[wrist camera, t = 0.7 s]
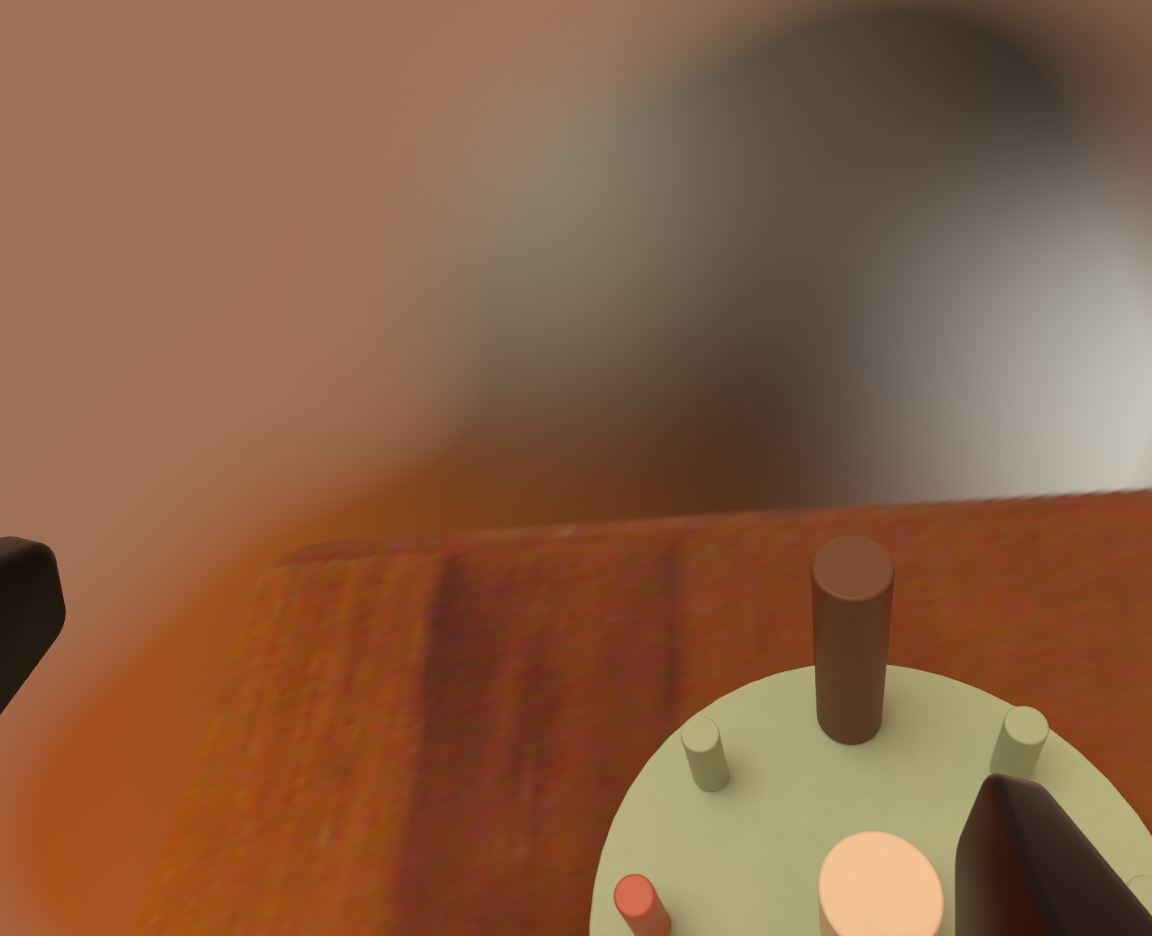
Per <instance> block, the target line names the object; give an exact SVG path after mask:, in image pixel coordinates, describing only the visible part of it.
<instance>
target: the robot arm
mask: <svg viewBox="0 0 1152 936" xmlns="http://www.w3.org/2000/svg"><path fill="white" fill-rule="evenodd" d="M65 614H66V610H65V604H64V598H63V593H62V588H61V583H60V577H59V573H58V567H57V562H56V558H55V555H54V553H53V551H52V550H51V549H50V548H49V547H48V546H46V545H45V544H43V543H39V542H35V541H31V540H27V539H23V538H19V537H2V538H0V714H1V713H2V712H3V710H4V709H5V708H6V706H7V705H8V703H9V702H10V701H11V699H12V698H13V697H14V695H15V694H16V693H17V691H18V690H19V688H20V687H21V686H22V685H23V683H24V682H25V680H26V679H27V678H28V676H29V675H30V674H31V672H32V671H33V670H34V668H35V667H36V665H37V664H38V663H39V661H40V660H41V659H42V657H43V656H44V654H45V653H46V652H47V651H48V649H49V648H50V646H51V645H52V644H53V642H54V641H55V640H56V638H57V637H58V635H59V634H60V631H61V629H62V627H63V624H64V621H65ZM955 936H1152V915H1151V914H1150V913H1149V912H1148V911H1147V909H1146V908H1145V907H1144V906H1143V905H1142V903H1141V902H1140V901H1139V900H1138V899H1137V897H1136V896H1135V895H1134V894H1133V893H1132V891H1131V890H1130V889H1129V888H1128V887H1127V885H1126V884H1125V883H1124V882H1123V880H1122V879H1121V878H1120V877H1119V876H1118V874H1117V873H1116V872H1115V871H1114V870H1113V868H1112V867H1111V866H1110V865H1109V864H1108V862H1107V861H1106V860H1105V859H1104V858H1103V856H1102V855H1101V854H1100V853H1099V852H1098V850H1097V849H1096V848H1095V847H1094V846H1093V844H1092V843H1091V842H1090V841H1089V840H1088V838H1087V837H1086V836H1085V835H1084V834H1083V832H1082V831H1081V830H1080V829H1079V828H1078V826H1077V825H1076V824H1075V823H1074V822H1073V820H1072V819H1071V818H1070V817H1069V816H1068V814H1067V813H1066V812H1065V811H1064V810H1063V808H1062V807H1061V806H1060V805H1059V804H1058V802H1057V801H1056V800H1055V799H1054V798H1053V796H1052V795H1051V794H1050V793H1049V792H1048V791H1047V790H1046V789H1045V788H1044V787H1043V786H1042V785H1040V784H1038V783H1036V782H1034V781H1029V780H1025V779H1021V778H1017V777H1013V776H1009V775H1004V774H1000V773H994V774H991V775H988V777H987V778H986V779H985V780H984V781H983V783H982V785H981V787H980V790H979V792H978V795H977V797H976V799H975V802H974V804H973V807H972V809H971V811H970V814H969V816H968V818H967V821H966V823H965V826H964V828H963V830H962V833H961V835H960V838H959V841H958V845H957V850H956V857H955Z"/></svg>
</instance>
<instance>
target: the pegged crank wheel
mask: <svg viewBox="0 0 1152 936" xmlns="http://www.w3.org/2000/svg"><path fill="white" fill-rule="evenodd" d="M894 574H895V568H894V563H893V560H892V558H891V556H890V554H889V553H888V552H887V550H886V549H885V548H884V547H883V546H882V545H881V544H879V543H878V542H876V541H875V540H873V539H871V538H868V537H865V536H861V535H853V534H851V535H841V536H837V537H834V538H832V539H830V540H828V541H827V542H825V543H824V544H823V545H821V546H820V548H819V549H818V550H817V551H816V553H815V554H814V556H813V559H812V562H811V585H812V610H813V636H814V661H815V666H809V667H804V668H800V669H795V670H790V671H786V672H781V673H777V674H775V675H772V676H769V677H766V678H763V679H760V680H758V681H755V682H752V683H749V684H747V685H745V686H743V687H741V688H739V689H737V690H735V691H733V692H731V693H729V694H727V695H725V696H723V697H721V698H719V699H718V700H716V701H715V702H713V703H712V704H710V705H709V706H707V707H706V708H704V709H703V710H701V711H700V712H698V713H697V714H695V715H694V716H693V717H691V718H690V719H689V720H688V721H686V722H685V724H683V725H682V726H681V727H680V728H679V729H678V730H677V731H675V732H674V733H673V734H672V735H671V736H670V737H669V738H668V739H667V740H666V741H665V742H664V743H663V745H662V746H661V747H660V748H659V749H658V750H657V751H656V752H655V754H654V755H653V756H652V757H651V758H650V759H649V760H648V762H647V763H646V765H645V766H644V767H643V769H642V770H641V772H640V773H639V775H638V776H637V778H636V779H635V781H634V782H633V784H632V785H631V786H630V788H629V790H628V792H627V794H626V796H625V798H624V800H623V801H622V803H621V805H620V807H619V809H618V811H617V813H616V815H615V817H614V819H613V822H612V825H611V827H610V830H609V833H608V836H607V838H606V841H605V844H604V847H603V849H602V852H601V857H600V861H599V865H598V870H597V874H596V878H595V883H594V887H593V896H592V906H591V915H590V924H589V935H590V936H955V857H956V850H957V845H958V841H959V838H960V835H961V833H962V830H963V828H964V826H965V823H966V821H967V818H968V816H969V814H970V811H971V809H972V807H973V804H974V802H975V799H976V797H977V795H978V792H979V790H980V787H981V785H982V783H983V781H984V780H985V779H986V778H987V777H988V775H991V774H994V773H1000V774H1004V775H1009V776H1013V777H1017V778H1021V779H1025V780H1029V781H1034V782H1036V783H1038V784H1040V785H1042V786H1043V787H1044V788H1045V789H1046V790H1047V791H1048V792H1049V793H1050V794H1051V795H1052V796H1053V798H1054V799H1055V800H1056V801H1057V802H1058V804H1059V805H1060V806H1061V807H1062V808H1063V810H1064V811H1065V812H1066V813H1067V814H1068V816H1069V817H1070V818H1071V819H1072V820H1073V822H1074V823H1075V824H1076V825H1077V826H1078V828H1079V829H1080V830H1081V831H1082V832H1083V834H1084V835H1085V836H1086V837H1087V838H1088V840H1089V841H1090V842H1091V843H1092V844H1093V846H1094V847H1095V848H1096V849H1097V850H1098V852H1099V853H1100V854H1101V855H1102V856H1103V858H1104V859H1105V860H1106V861H1107V862H1108V864H1109V865H1110V866H1111V867H1112V868H1113V870H1114V871H1115V872H1116V873H1117V874H1118V876H1119V877H1120V878H1121V879H1122V880H1123V882H1124V883H1125V884H1126V885H1127V887H1128V888H1129V889H1130V890H1131V891H1132V893H1133V894H1134V895H1135V896H1136V897H1137V899H1138V900H1139V901H1140V902H1141V903H1142V905H1143V906H1144V907H1145V908H1146V909H1147V911H1148V912H1149V913H1150V914H1151V915H1152V836H1151V834H1150V833H1149V831H1148V830H1147V828H1146V827H1145V825H1144V824H1143V822H1142V821H1141V819H1140V818H1139V816H1138V815H1137V813H1136V812H1135V811H1134V810H1133V809H1132V807H1131V806H1130V805H1129V804H1128V803H1127V801H1126V800H1125V799H1124V798H1123V797H1122V796H1121V794H1120V793H1119V792H1118V791H1117V790H1116V788H1115V787H1114V786H1113V785H1112V784H1111V782H1110V781H1109V780H1108V779H1107V778H1106V777H1105V776H1104V775H1103V774H1102V773H1101V772H1100V771H1099V770H1097V769H1096V768H1095V767H1094V766H1093V765H1092V764H1091V763H1090V762H1089V761H1088V760H1087V759H1086V758H1085V757H1084V756H1083V755H1082V754H1081V753H1080V752H1079V751H1078V750H1076V749H1075V748H1074V747H1072V746H1071V745H1070V744H1069V743H1067V742H1066V741H1065V740H1063V739H1062V738H1061V737H1060V736H1058V735H1057V734H1056V733H1054V732H1053V731H1052V730H1051V729H1049V725H1048V722H1047V720H1046V719H1045V717H1044V716H1043V715H1042V714H1041V713H1040V712H1039V711H1037V710H1036V709H1034V708H1031V707H1027V706H1018V707H1015V706H1013V705H1011V704H1009V703H1007V702H1005V701H1003V700H1001V699H999V698H997V697H995V696H993V695H991V694H989V693H986V692H984V691H982V690H980V689H978V688H975V687H972V686H970V685H967V684H964V683H961V682H959V681H956V680H953V679H950V678H948V677H945V676H941V675H937V674H933V673H929V672H924V671H920V670H916V669H912V668H906V667H899V666H891V665H887V655H888V644H889V632H890V621H891V609H892V597H893V586H894Z"/></svg>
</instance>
